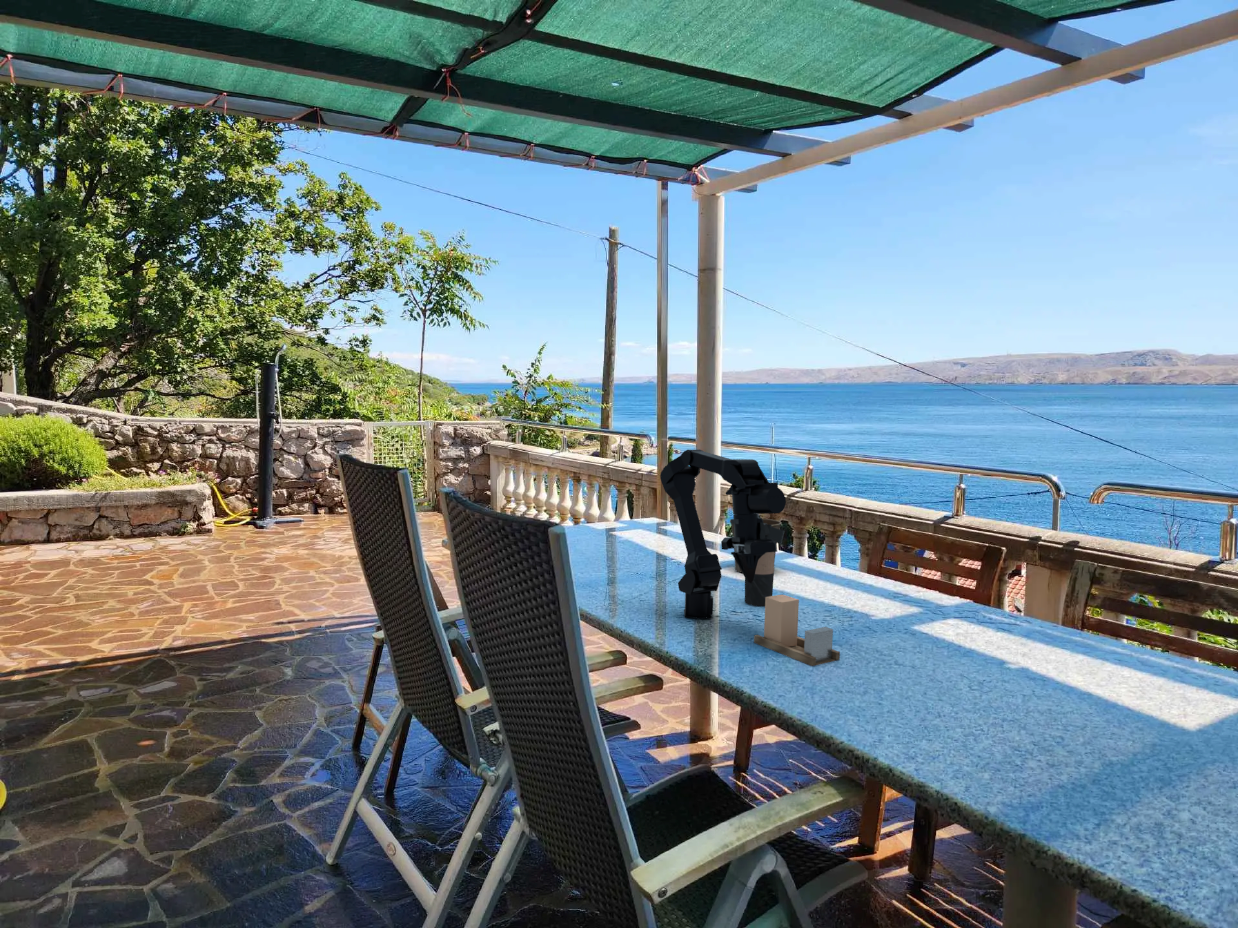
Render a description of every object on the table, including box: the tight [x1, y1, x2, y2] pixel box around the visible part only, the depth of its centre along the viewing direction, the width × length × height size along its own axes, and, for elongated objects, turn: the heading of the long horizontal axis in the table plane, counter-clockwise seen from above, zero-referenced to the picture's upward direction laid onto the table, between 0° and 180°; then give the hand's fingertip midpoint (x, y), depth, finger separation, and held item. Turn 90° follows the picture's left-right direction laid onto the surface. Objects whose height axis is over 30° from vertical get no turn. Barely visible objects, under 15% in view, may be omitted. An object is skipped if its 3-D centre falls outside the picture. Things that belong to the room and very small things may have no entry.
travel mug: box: [744, 552, 776, 608], centre depth 201 cm, size 8×8×20 cm
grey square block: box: [804, 626, 834, 662], centre depth 155 cm, size 2×6×7 cm, turn 122°
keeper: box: [763, 594, 800, 647], centre depth 164 cm, size 5×5×10 cm
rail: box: [753, 634, 841, 667], centre depth 160 cm, size 17×8×2 cm, turn 32°
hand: (750, 582), depth 172 cm, fingers closed
